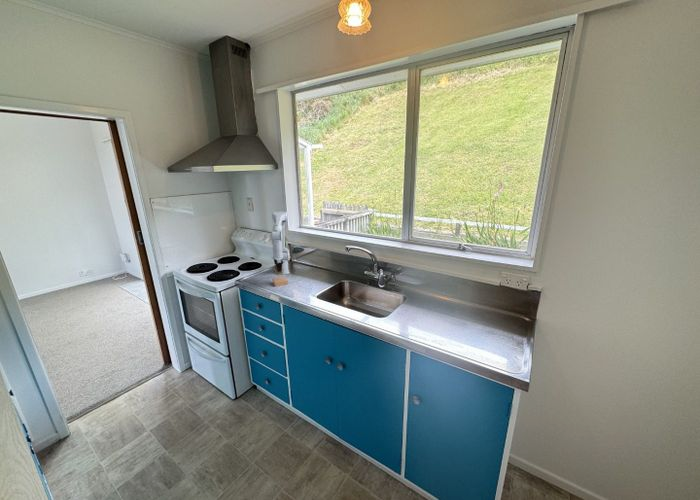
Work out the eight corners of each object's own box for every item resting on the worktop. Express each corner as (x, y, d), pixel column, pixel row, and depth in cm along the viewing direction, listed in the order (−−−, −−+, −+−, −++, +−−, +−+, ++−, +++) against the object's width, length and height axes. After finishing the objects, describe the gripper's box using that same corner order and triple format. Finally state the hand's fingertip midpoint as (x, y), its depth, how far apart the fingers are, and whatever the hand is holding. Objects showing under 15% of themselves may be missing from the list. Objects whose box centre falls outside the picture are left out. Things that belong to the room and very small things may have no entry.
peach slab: (272, 283, 185) (272, 278, 185) (284, 280, 189) (284, 276, 188) (275, 287, 178) (275, 282, 178) (288, 284, 182) (287, 280, 181)
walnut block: (275, 272, 183) (274, 265, 182) (282, 271, 184) (281, 264, 183) (275, 274, 179) (274, 267, 178) (282, 273, 180) (282, 266, 179)
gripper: (270, 247, 183) (272, 267, 187) (271, 253, 170) (273, 274, 173) (281, 246, 185) (282, 266, 189) (283, 252, 172) (284, 273, 176)
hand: (279, 270), depth 181 cm, fingers closed on walnut block, 4 cm apart
